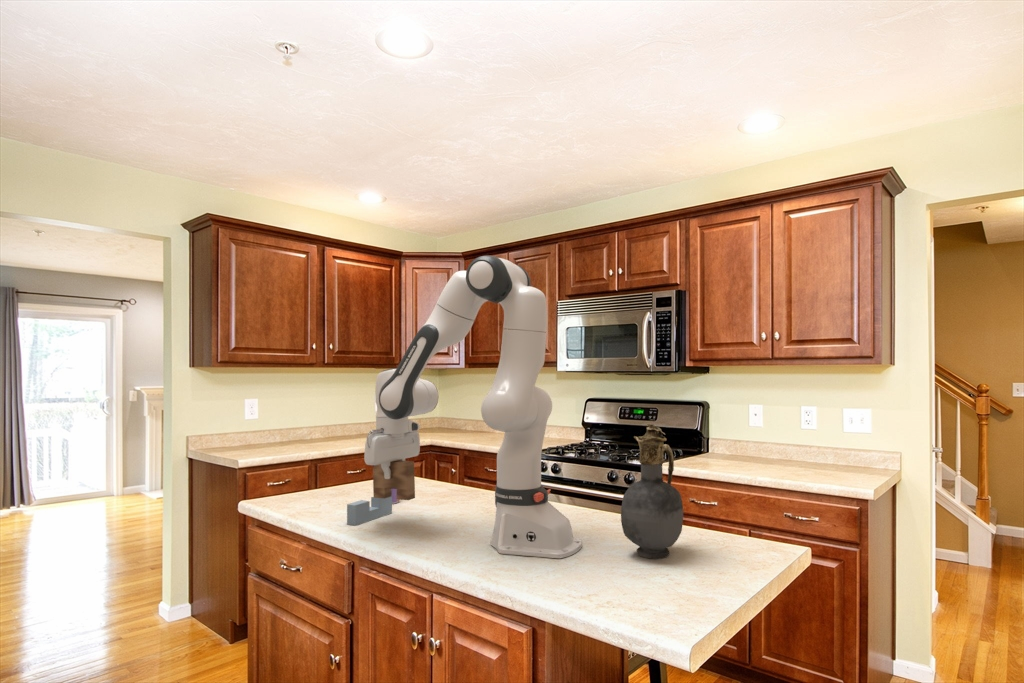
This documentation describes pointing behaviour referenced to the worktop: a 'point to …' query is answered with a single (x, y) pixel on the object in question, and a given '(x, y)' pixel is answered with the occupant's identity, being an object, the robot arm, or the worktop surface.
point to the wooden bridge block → (395, 480)
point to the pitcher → (652, 500)
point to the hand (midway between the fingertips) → (393, 477)
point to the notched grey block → (368, 510)
